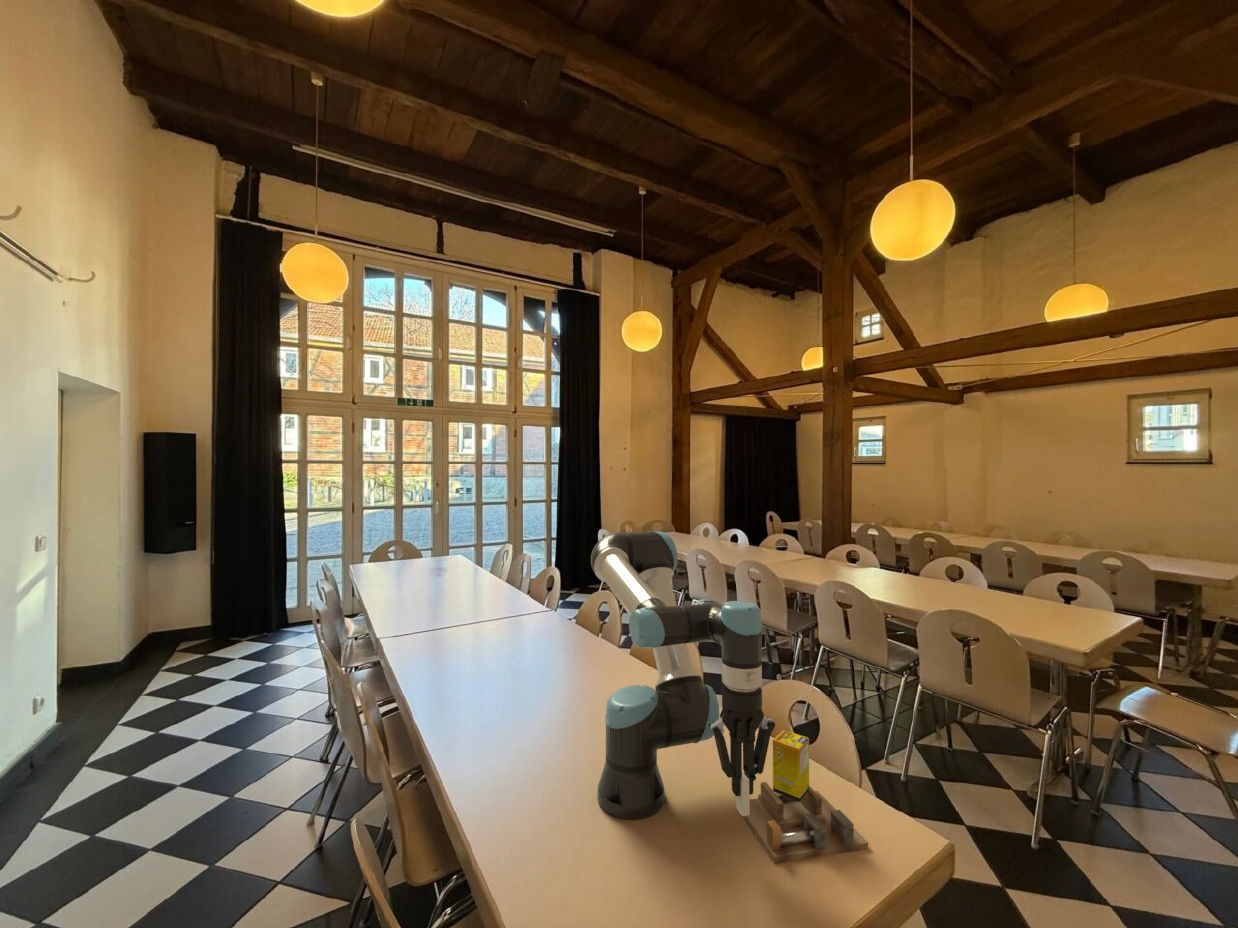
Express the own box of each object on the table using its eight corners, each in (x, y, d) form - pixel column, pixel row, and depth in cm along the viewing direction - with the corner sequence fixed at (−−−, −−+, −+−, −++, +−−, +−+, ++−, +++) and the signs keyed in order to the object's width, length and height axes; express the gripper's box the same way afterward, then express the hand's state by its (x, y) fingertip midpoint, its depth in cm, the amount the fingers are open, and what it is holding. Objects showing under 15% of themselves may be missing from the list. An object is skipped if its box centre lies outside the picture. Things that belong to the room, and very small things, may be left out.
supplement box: (782, 778, 114) (782, 728, 114) (810, 789, 110) (809, 737, 110) (771, 791, 109) (771, 739, 110) (799, 802, 106) (799, 748, 106)
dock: (774, 863, 96) (774, 832, 97) (735, 806, 113) (736, 780, 113) (868, 848, 100) (868, 819, 101) (817, 795, 117) (817, 770, 117)
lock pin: (773, 850, 98) (773, 829, 98) (766, 841, 100) (766, 821, 100) (827, 842, 100) (827, 821, 100) (820, 833, 102) (820, 813, 103)
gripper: (717, 695, 94) (718, 828, 93) (782, 689, 96) (784, 819, 95) (702, 680, 101) (703, 803, 100) (763, 675, 104) (764, 795, 103)
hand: (742, 811), depth 98 cm, fingers closed
